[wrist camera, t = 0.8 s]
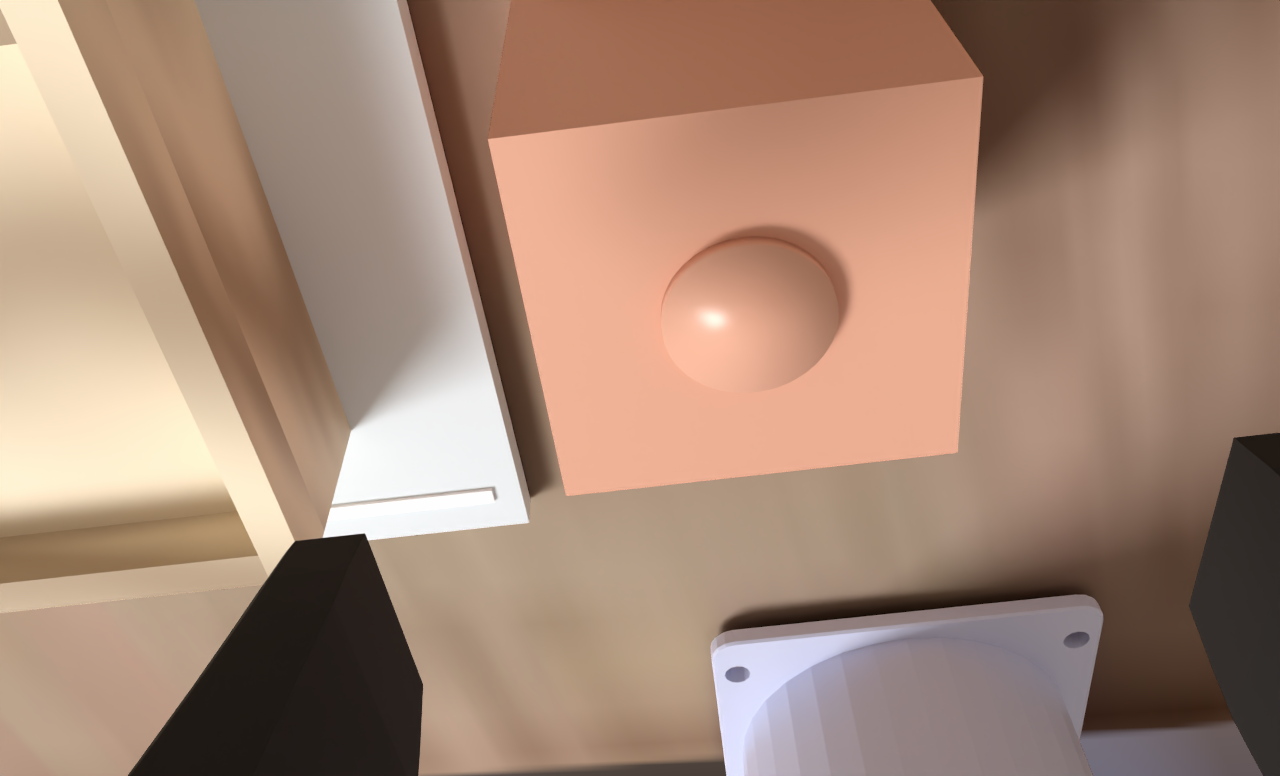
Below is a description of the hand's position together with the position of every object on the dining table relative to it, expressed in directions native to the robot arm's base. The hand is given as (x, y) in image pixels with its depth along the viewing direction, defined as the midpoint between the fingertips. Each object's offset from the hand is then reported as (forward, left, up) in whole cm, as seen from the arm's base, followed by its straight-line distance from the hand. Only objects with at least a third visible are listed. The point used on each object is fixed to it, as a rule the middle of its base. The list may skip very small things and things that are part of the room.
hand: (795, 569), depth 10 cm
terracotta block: (0, 0, -9) cm, 9 cm away
